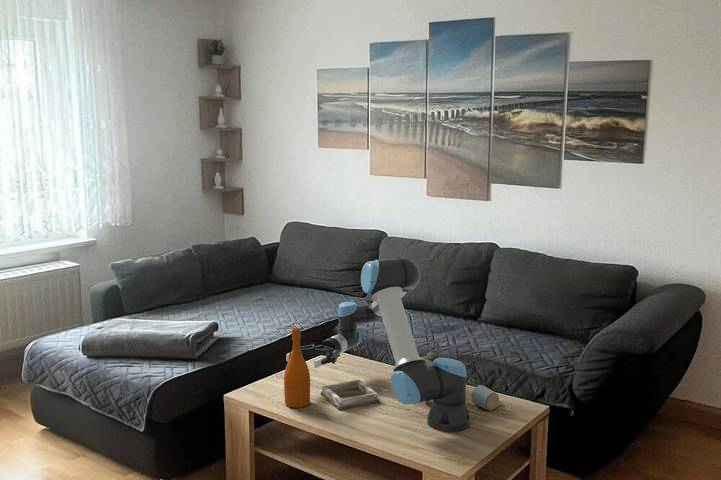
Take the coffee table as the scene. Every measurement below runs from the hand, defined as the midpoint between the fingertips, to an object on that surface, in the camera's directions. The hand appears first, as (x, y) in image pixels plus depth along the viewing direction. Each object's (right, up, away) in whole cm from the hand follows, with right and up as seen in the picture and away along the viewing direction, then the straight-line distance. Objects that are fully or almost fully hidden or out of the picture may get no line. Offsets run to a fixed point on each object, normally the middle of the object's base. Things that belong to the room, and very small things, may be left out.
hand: (300, 361), depth 289 cm
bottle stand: (+18, -15, +5) cm, 24 cm away
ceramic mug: (+70, -17, -2) cm, 72 cm away
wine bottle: (-1, -16, 0) cm, 16 cm away
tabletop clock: (+50, -16, +1) cm, 52 cm away
